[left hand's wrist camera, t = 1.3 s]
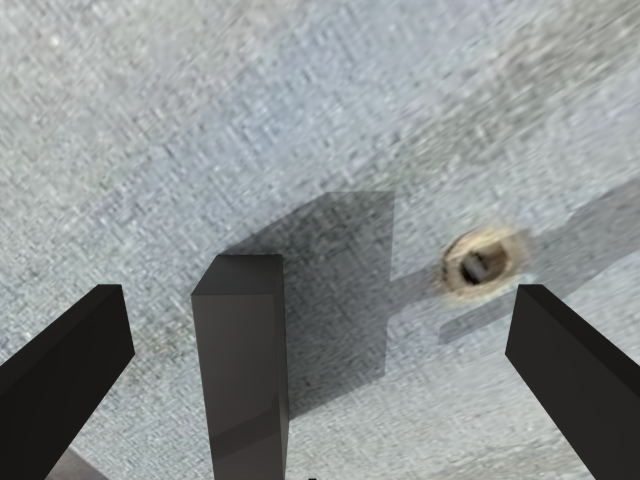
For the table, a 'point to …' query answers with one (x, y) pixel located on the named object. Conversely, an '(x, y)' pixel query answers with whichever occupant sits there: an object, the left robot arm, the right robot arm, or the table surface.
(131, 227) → the table surface
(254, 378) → the box
